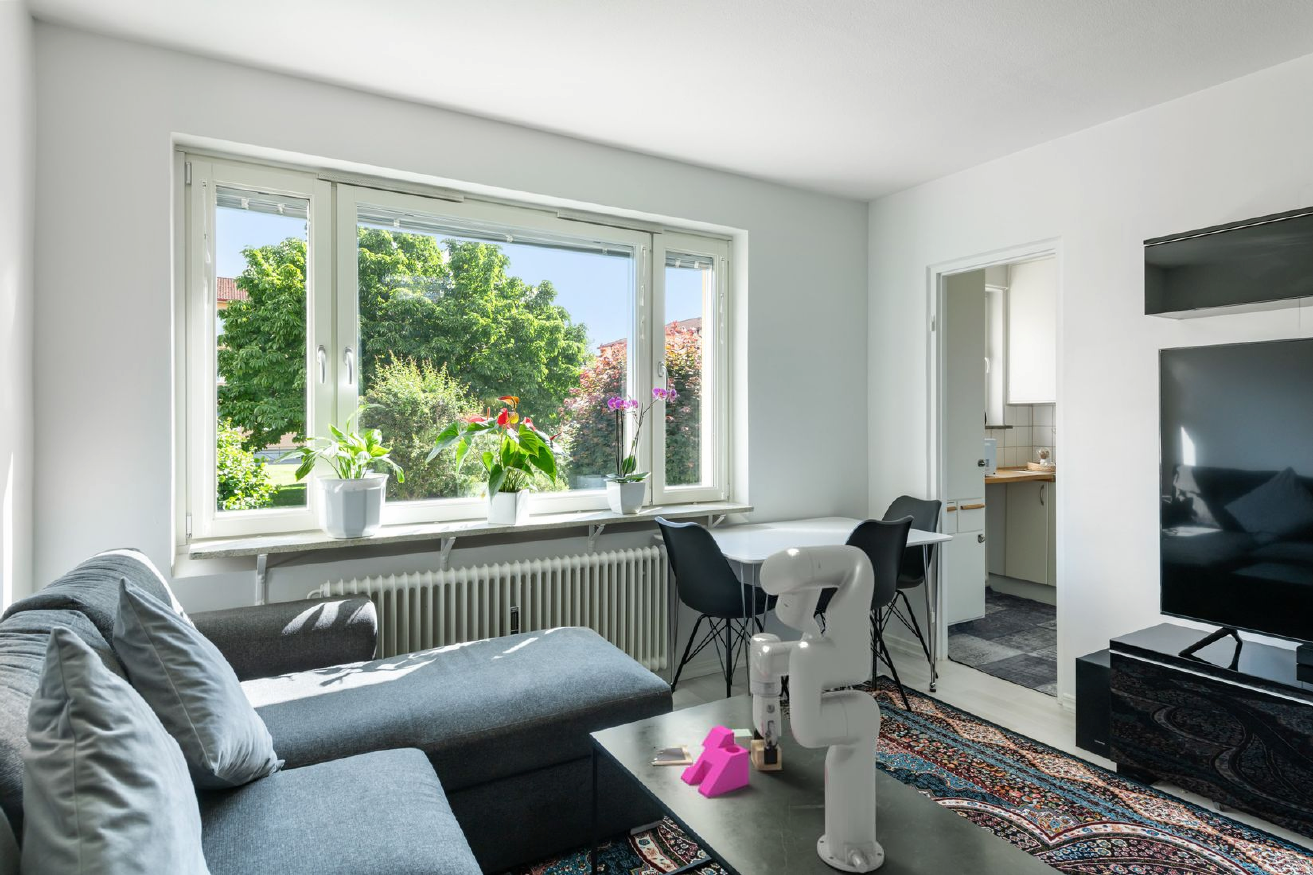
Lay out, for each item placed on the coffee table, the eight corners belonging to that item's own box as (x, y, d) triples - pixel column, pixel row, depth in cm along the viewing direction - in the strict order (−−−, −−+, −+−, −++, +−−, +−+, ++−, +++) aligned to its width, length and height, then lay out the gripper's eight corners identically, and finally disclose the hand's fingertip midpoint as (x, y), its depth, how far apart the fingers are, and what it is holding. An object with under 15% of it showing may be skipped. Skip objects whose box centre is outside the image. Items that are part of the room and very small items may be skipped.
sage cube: (752, 753, 183) (752, 735, 183) (735, 754, 182) (735, 736, 182) (748, 745, 187) (748, 728, 187) (731, 746, 187) (731, 729, 187)
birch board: (692, 766, 175) (692, 761, 175) (652, 768, 174) (652, 763, 174) (686, 748, 185) (686, 744, 185) (648, 750, 184) (648, 746, 184)
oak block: (781, 769, 174) (781, 749, 174) (757, 771, 173) (757, 750, 173) (774, 758, 180) (774, 738, 180) (751, 760, 179) (751, 740, 179)
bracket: (721, 767, 175) (720, 725, 175) (748, 784, 166) (748, 739, 166) (680, 780, 168) (680, 736, 168) (707, 798, 160) (707, 752, 160)
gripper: (790, 697, 168) (790, 770, 168) (771, 673, 185) (770, 739, 186) (759, 699, 167) (759, 772, 168) (742, 674, 185) (742, 740, 185)
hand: (765, 754), depth 177 cm, fingers open, 9 cm apart
